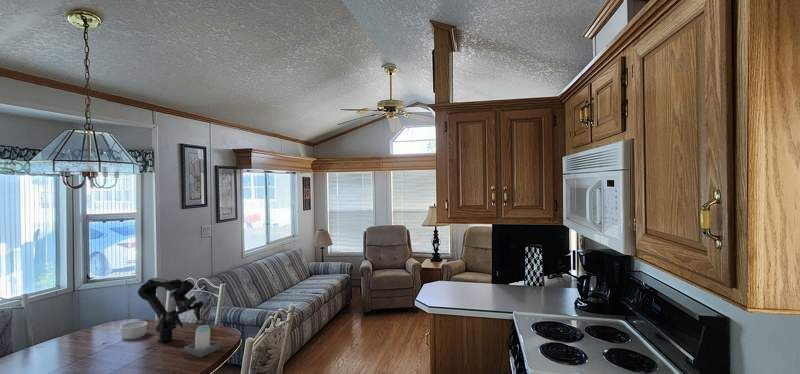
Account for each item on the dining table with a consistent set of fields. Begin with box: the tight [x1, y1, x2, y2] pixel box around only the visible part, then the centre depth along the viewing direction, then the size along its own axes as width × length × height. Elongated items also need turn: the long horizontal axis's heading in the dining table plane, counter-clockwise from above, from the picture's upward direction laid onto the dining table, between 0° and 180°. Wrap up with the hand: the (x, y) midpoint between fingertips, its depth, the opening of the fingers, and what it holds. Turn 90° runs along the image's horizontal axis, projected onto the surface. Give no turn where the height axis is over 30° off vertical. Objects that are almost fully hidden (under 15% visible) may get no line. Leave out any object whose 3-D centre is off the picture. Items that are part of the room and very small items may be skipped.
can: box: [194, 324, 211, 351], centre depth 203 cm, size 7×7×12 cm
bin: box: [183, 340, 222, 358], centre depth 203 cm, size 13×13×3 cm
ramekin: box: [119, 320, 148, 340], centre depth 220 cm, size 13×13×7 cm
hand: (191, 323), depth 206 cm, fingers open, 9 cm apart
